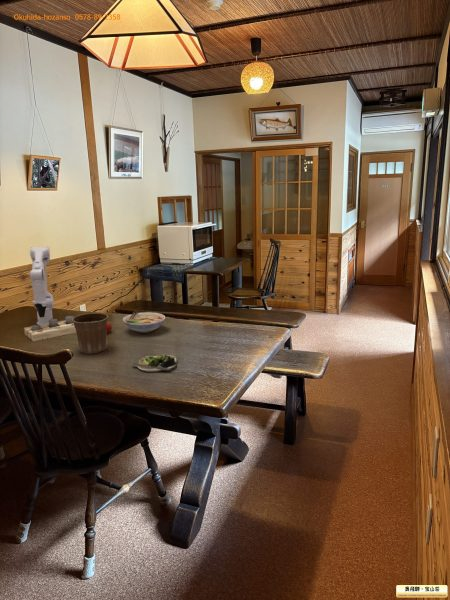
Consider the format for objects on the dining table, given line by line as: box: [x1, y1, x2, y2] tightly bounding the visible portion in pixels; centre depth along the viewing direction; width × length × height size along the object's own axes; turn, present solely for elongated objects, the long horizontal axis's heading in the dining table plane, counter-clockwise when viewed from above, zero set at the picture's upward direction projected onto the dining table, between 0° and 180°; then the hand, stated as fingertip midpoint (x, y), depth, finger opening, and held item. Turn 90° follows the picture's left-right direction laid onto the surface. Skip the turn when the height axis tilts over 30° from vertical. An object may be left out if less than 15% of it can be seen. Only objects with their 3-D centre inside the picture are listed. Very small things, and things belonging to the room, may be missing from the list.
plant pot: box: [72, 312, 109, 355], centre depth 205 cm, size 16×16×16 cm
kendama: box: [106, 321, 112, 334], centre depth 228 cm, size 8×6×18 cm
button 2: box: [49, 318, 59, 328], centre depth 233 cm, size 4×4×4 cm
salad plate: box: [130, 354, 178, 373], centre depth 188 cm, size 19×18×5 cm
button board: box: [23, 319, 77, 342], centre depth 233 cm, size 15×27×4 cm, turn 130°
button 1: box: [30, 324, 41, 331], centre depth 228 cm, size 4×4×4 cm
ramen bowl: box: [122, 309, 166, 334], centre depth 235 cm, size 25×23×8 cm
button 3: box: [65, 315, 75, 325], centre depth 239 cm, size 4×4×4 cm
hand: (42, 317), depth 229 cm, fingers closed
